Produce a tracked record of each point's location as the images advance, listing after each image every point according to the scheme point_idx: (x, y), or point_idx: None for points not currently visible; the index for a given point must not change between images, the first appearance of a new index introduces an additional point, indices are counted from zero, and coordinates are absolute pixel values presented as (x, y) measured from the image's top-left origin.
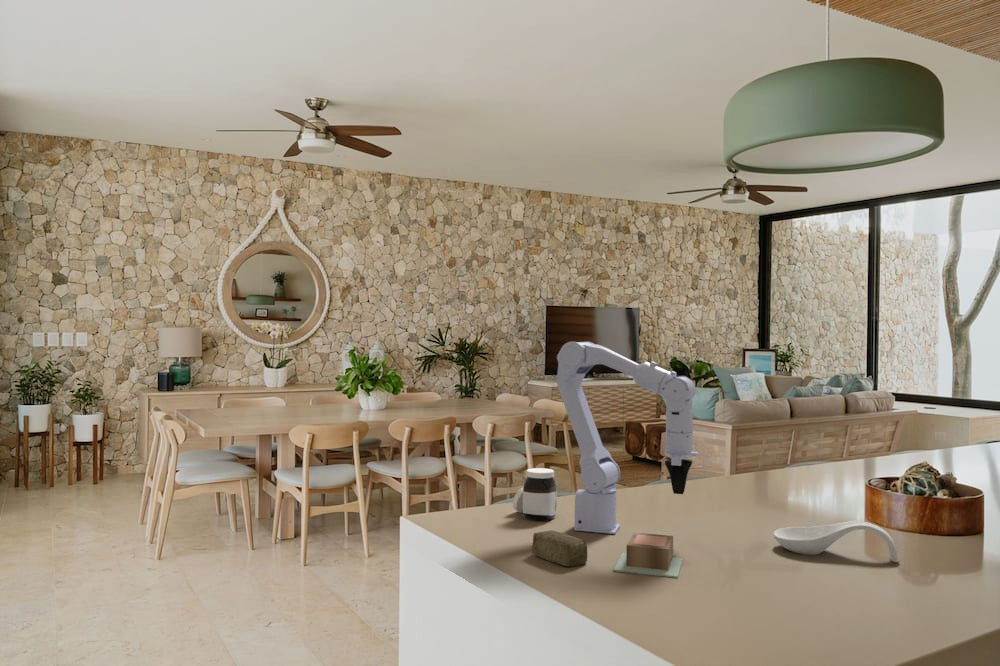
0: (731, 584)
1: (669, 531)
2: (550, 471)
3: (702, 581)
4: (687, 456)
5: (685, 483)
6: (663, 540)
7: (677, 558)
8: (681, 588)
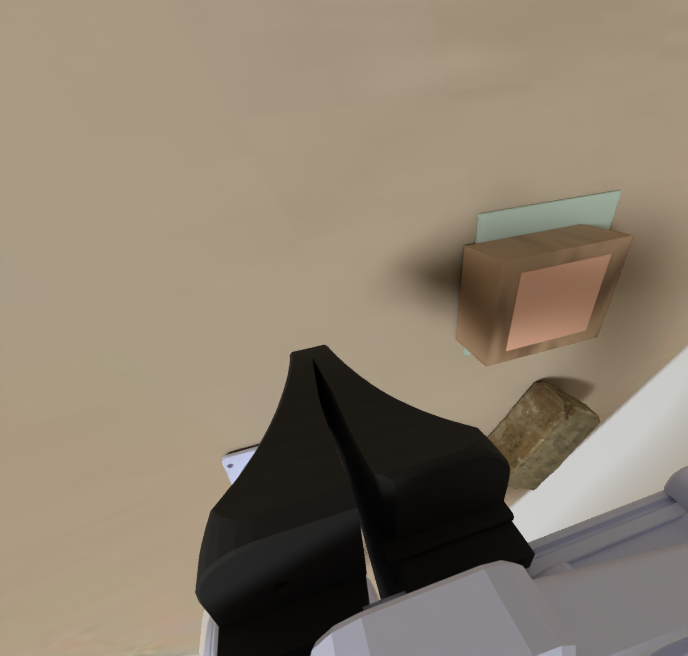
0: (673, 23)
1: (178, 335)
2: None
3: (642, 120)
4: (659, 579)
5: (334, 373)
6: (556, 273)
7: (486, 227)
8: (679, 165)
